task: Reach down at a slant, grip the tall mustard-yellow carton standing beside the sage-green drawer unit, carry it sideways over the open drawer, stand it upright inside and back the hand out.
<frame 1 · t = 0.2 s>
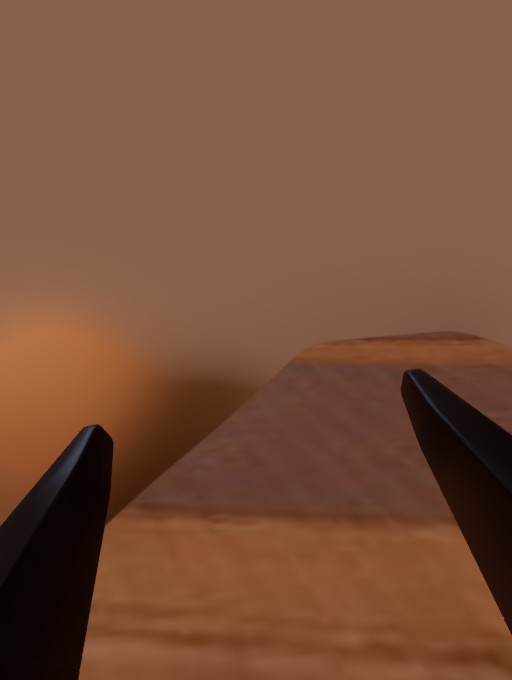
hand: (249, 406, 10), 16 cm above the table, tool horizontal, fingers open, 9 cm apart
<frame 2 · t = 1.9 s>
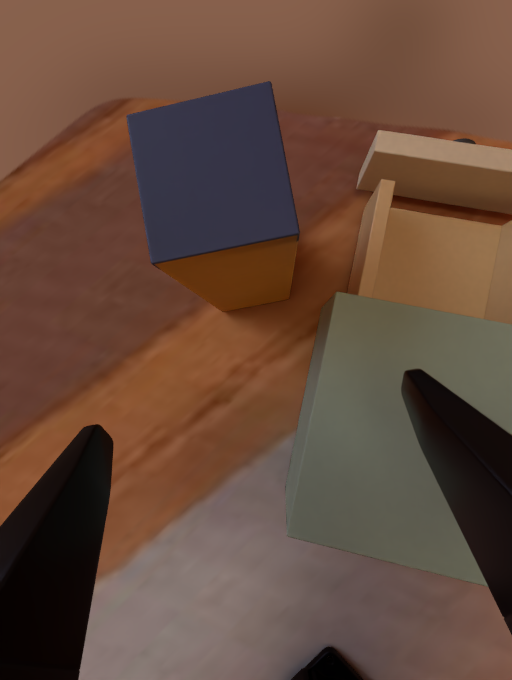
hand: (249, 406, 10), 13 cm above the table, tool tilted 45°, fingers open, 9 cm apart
drawer: (439, 251, 20), point 3 cm above the table, slide at 8.0 cm
cabinet: (388, 415, 22), on the table
carton: (249, 271, 24), on the table
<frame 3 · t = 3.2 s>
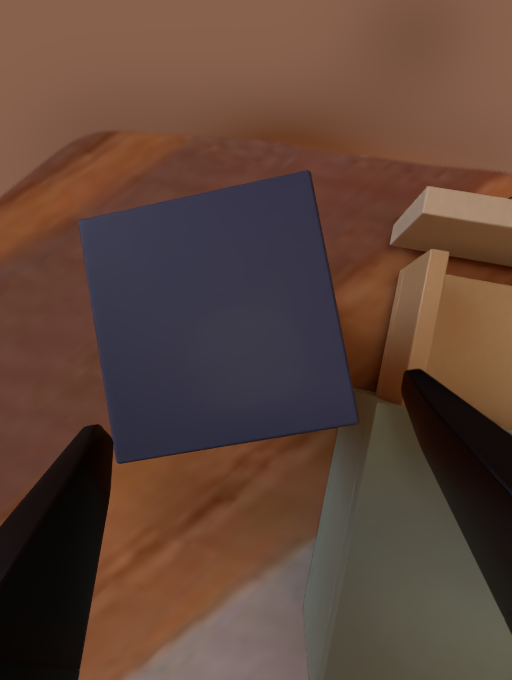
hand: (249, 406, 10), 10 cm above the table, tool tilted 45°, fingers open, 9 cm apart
drawer: (500, 333, 16), point 3 cm above the table, slide at 8.0 cm
cabinet: (429, 520, 18), on the table
carton: (258, 340, 19), on the table
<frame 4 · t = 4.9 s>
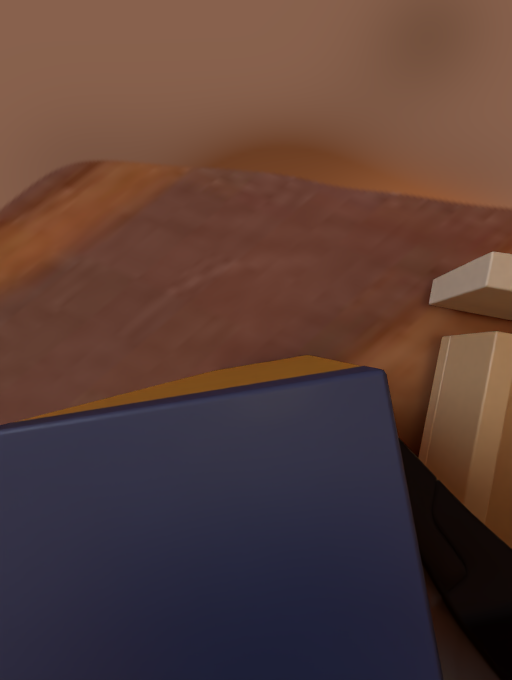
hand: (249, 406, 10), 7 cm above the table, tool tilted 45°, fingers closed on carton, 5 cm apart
carton: (269, 413, 16), on the table, touching gripper
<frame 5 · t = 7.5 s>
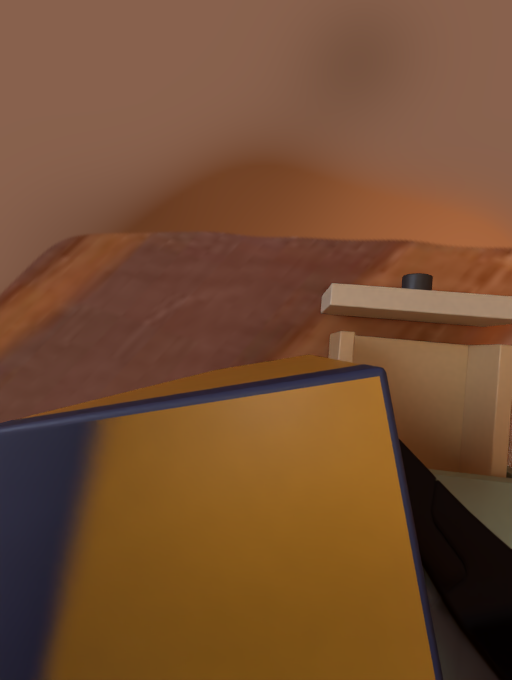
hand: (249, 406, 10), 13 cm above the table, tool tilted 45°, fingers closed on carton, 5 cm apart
drawer: (408, 384, 20), point 3 cm above the table, slide at 8.0 cm
cabinet: (378, 534, 22), on the table
carton: (270, 412, 16), point 7 cm above the table, touching gripper
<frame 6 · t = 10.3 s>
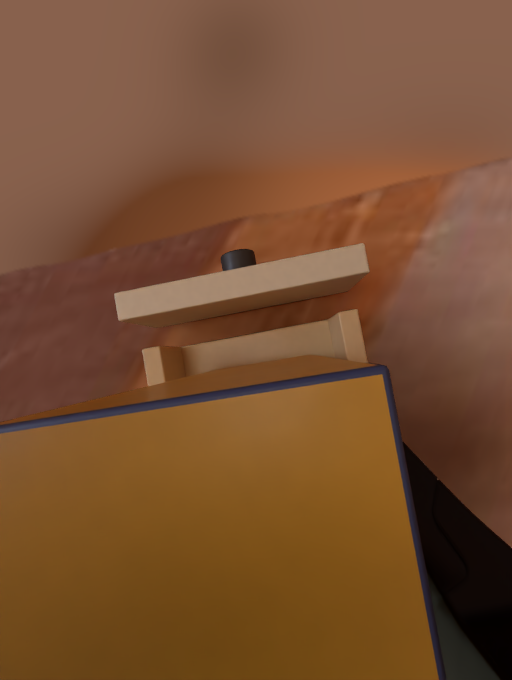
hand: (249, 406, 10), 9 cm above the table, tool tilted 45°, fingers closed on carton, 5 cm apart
drawer: (261, 388, 15), point 3 cm above the table, slide at 8.2 cm, touching carton
carton: (271, 412, 16), point 2 cm above the table, touching drawer, gripper
when the fingers open (9 cm above the table, at t = 10.5 s): carton stays where it is, resting on drawer.
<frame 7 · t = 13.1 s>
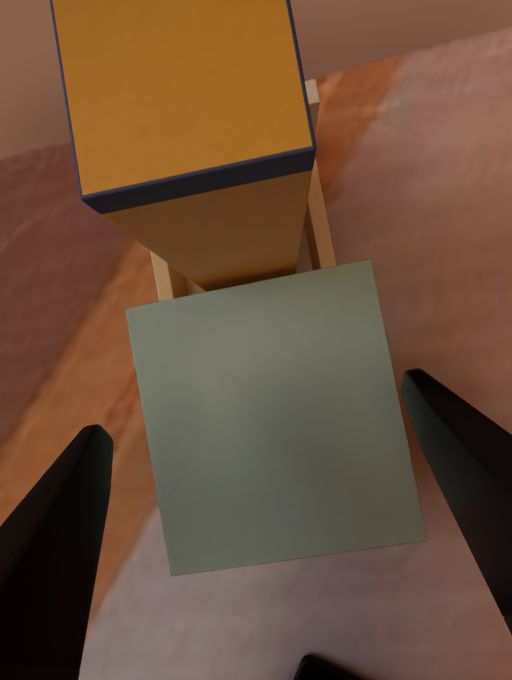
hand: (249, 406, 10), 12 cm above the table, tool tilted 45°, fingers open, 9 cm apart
drawer: (236, 219, 19), point 3 cm above the table, slide at 8.2 cm, touching carton
cabinet: (273, 399, 21), on the table
carton: (246, 248, 20), point 2 cm above the table, touching drawer
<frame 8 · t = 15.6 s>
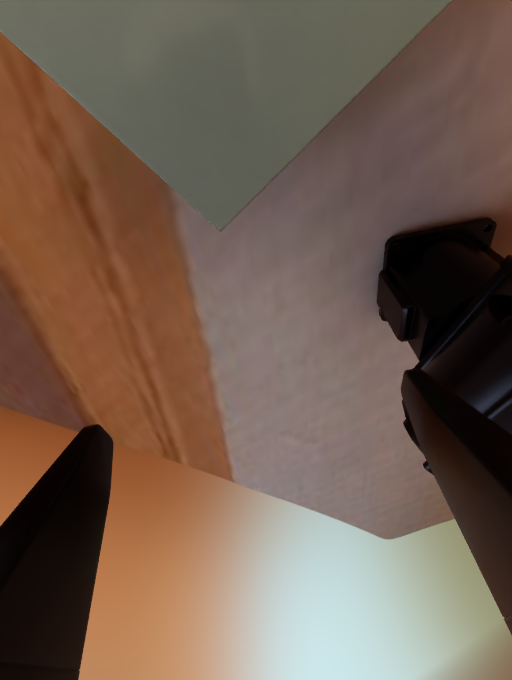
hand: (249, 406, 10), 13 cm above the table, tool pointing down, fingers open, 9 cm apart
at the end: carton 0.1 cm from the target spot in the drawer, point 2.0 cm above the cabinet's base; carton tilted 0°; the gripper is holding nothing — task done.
